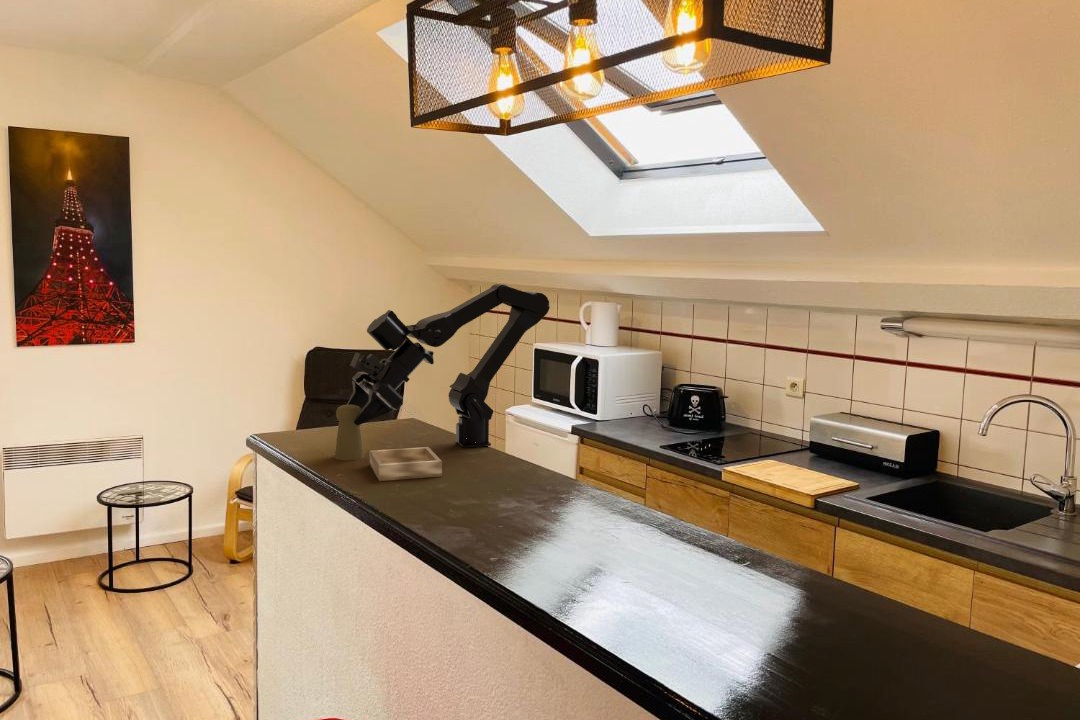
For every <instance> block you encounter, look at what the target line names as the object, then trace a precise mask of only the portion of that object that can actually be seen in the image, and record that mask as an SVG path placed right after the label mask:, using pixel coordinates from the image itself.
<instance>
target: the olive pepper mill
mask: <svg viewBox="0 0 1080 720" xmlns="http://www.w3.org/2000/svg"><path fill="white" fill-rule="evenodd" d="M361 410H362V408H361V409H360V407H359V406H357V405H347V404H343V405H340V406H338V407H337V409H336V411H335V416H336V419H337V421H338V427H337V433H336V434H337V435H336V436H337V437H336V443H335V451H334V452H335V453H334V459H336V460H337V461H346V462H347V461H349V462H350V461H357V460H362V459H364V458H365V453H364V447H363V446H364V445H363V439H362V434H361V433H362V432H361V426H360V425H361V424H360V425H358V426H357V425H356V424H355V423H354V421H355V419H356V417H357V416H358V415H359V413H360V412H361Z"/></svg>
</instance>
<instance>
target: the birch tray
mask: <svg viewBox="0 0 1080 720" xmlns="http://www.w3.org/2000/svg"><path fill="white" fill-rule="evenodd" d="M369 466H370V468H371V469H372V471H373V473H374V474H375V475H374V476H376V478H377V479H378V481H379V482H384V481H397V480H409V479H412V480H413V479H423V478H435V477H436V478H437V477H442V476H443V461H442V459H440V457H439V456H438V455H436V453H435V452H434V451H433V450H432V449H431V448H430V447H429V446H423V447H408V448H407V447H406V448H392V449H379V450H378V449H377V450H375V449H374V450H369Z"/></svg>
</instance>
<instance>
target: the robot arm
mask: <svg viewBox="0 0 1080 720" xmlns="http://www.w3.org/2000/svg"><path fill="white" fill-rule="evenodd" d="M502 304H503V305H506V306H508V307H510V311H509V315H508V320H507V322H506V323H505V325H504V326H503V327H502V328H501V331H499V333H498V334H497V336H496V337H495V339H494V340H493V341H492V343H491V345H490V346H489V347H488V349H487V350H486V351H485V353H484V354H483V355H482V357H481V359H480V360H479V361H478V363H477V364H476V366H475V367H474V368H473V369H472V370H471V371H470V372H469V373H468V374H466V373H463V372H459V374H458V375H457V376H456V379H455V381H454V382H453V383H452V384H451V385H449V388H451V389H450V390H449V392H448V395H447V396H448V401H449V403H450V405H451V407H453V408H454V409H455V412H456V414H457V416H458V415H459V416H458V422H457V423H456V424H455V425H456V427H455V432H456V433H455V441H456V443H458V445H460V446H461V447H462V448H476V447H491V446H492V443H491V442H490V441H489V439H490V437H489V435H490V433H489V432H490V431H489V430H490V421H491V419H492V417H493V414H494V409H492V408H491V407H490V406H489V405H488V404H487V403H486V399H487V396H488V394H489V389H490V385H491V382H492V380H493V378H495V375H497V373H498V372H499V370H500V369H501V368H502V366H503V364H504V363H505V362H506V360H507V359H508V358H509V356H510V355H511V353H512V352H513V350H514V349H515V347H516V346H517V345H518V343H519V342H520V340H521V339H522V337H523V336H524V335H525V334H526V332H527V331H528V330H530V329H531V328H533V327H534V326H536V325H537V324H539V322H541V320H542V319H543V318H544V317H546V316H547V315H548V313H549V310H550V308H551V306H550V300H549V299H548V297H547V296H546V294H544V293H542V292H539V291H538V292H537V291H528V290H527V291H523V290H520V289H518V288H514V287H510V286H509V285H508V284H503V283H502V284H501V283H495V284H493V285H492V286H490V287H489V288H487V289H486V290H484V291H482V292H481V293H479V294H477V295H475V296H473V297H472V298H469V299H467V300H466V301H464V302H463V303H461V304H459V305H457V306H455V307H453V308H451V309H450V310H448V311H445V312H440V313H437V314H433V315H430V316H427V317H423V318H422V319H419V320H418V321H417V322H416V323H414V324H408V325H405V323H403V322H402V321H401V320H400V318H398V315H397V314H396V313H395V312H394V311H393V310H390V309H388V310H387V311H386V312H385V313H383V314H382V315H380V316H378V317H377V318H374V319H373V320H372V322H371V323H370V324H369V325H368V327H367V329H366V332H367V333H368V335H369V336H371V338H372V339H373V340H374V341H376V343H378V345H380V347H382V349H383V350H384V351H389V350H391V351H393V353H392V354H391V355H390V356H389V357H388V358H382V359H380V357H379V356H377V355H375V354H372V353H369V354H368V355H366V356H365V355H364V354H361V353H359V352H355V353H354V356H353V357H352V361H351V362H350V365H349V367H352V368H353V369H356V370H357V372H356V374H354V375H353V376H352V377H351V378H352V380H351V383H352V393H351V395H350V398H349V399H348V401H347V403H346V405H357V406H359V407H360V409H361V412H360V413H359V415H358V416H357V417H356V419H355V421H354V423H355V424H356V425H357V426H358V425H362V424H365V423H366V422H369V421H371V420H374V419H376V418H379V417H381V416H384V415H386V414H388V413H392V412H394V410H395V411H398V410H399V409H400V408H401V407H402V406H403V404H404V397H403V396H401V394H399V392H398V391H396V390H398V388H399V387H400V386H401V385H402V384H403V383H408V382H409V381H410V378H409V376H411V374H412V373H413V372H414V371H415V370H416V368H418V367H419V366H420V365H421V364H422V362H423V361H424V363H427V364H430V365H434V363H435V361H434V353H435V352H434V351H432V350H427V349H426V348H425V347H424V346H423V345H425V346H429V347H433V348H438V347H441V346H443V345H444V344H445V343H446V342H447V341H449V340H450V339H451V338H452V337H454V336H455V334H456V333H457V332H458V330H459V329H461V328H462V327H463V326H466V325H467V324H468V323H470V322H472V321H474V320H475V319H478V318H479V317H481V316H482V315H484V314H486V313H487V312H490V311H492V310H493V309H495V308H496V307H498V306H500V305H502ZM409 337H410V338H413V339H416V341H417V342H414V341H412V340H411V339H410V338H409ZM466 438H467V439H466ZM475 442H476V443H475Z"/></svg>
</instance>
